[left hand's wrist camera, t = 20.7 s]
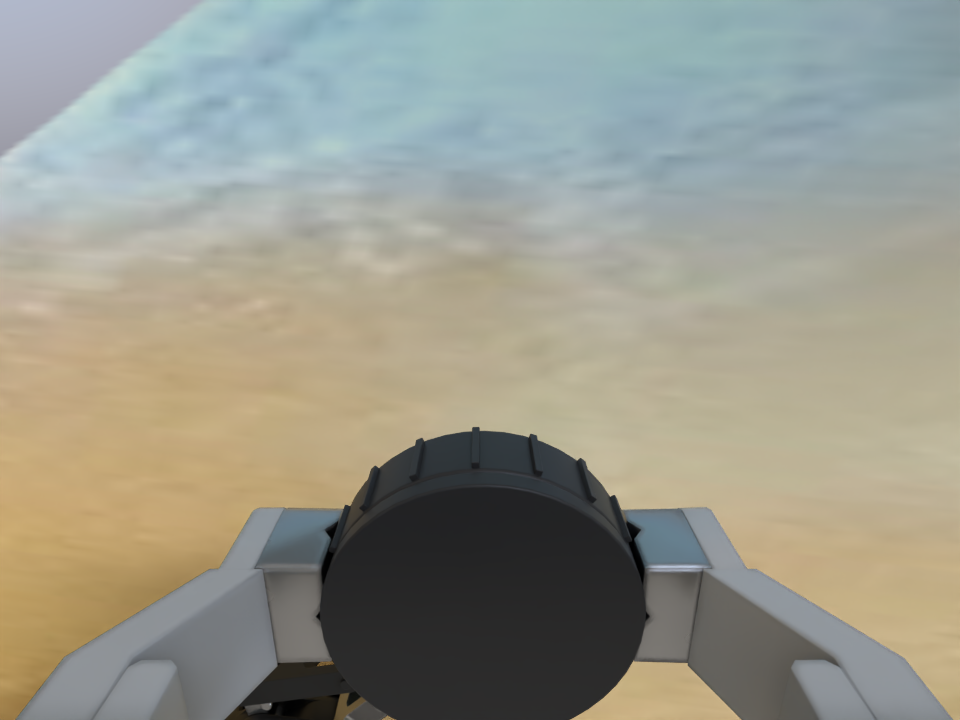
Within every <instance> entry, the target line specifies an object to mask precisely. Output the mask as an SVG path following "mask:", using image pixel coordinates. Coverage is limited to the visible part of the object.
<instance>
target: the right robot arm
mask: <svg viewBox="0 0 960 720" xmlns="http://www.w3.org/2000/svg"><path fill="white" fill-rule="evenodd" d="M318 663H319V662H291V663H277V665H278V666H277V667H276V668H275V669H274V670H273V671H272V672H271V673H270V674H269V675H268V676H267V677H266V678H265V679H264V680H263V681H262V682H261V683H260V684H259V685H258V686H257V687H256V688H255V689H254V690H253V691H252V692H251V693H250V694H249V695H248V696H247V697H246V698H245V699H244V700H243V702H242V703H241V704H240V705H239V706H238V707H237V708H236V709H235V710H234V711H233V712H232V713H231V714H230V715H229V716H228V717H227V718H226V719H225V720H382V719H383V718H384V717H386V716H387V715H386V714H385V713H383V712H381V711H380V710H378V709H377V708H375V707H374V706H372V705H371V704H370V703H368V702H367V701H366V700H365V699H363V698H362V697H361V696H360V695H359V694H358V693H357V692H356V691H355V690H354V689H353V688H352V687H351V686H350V685H349V684H348V683H347V682H346V680H345V679H344V678H343V676H342V675H341V674H340V672H339V671H338V670H337V668H336V666H335V664H333V665H325V666H318V667H317V665H318Z"/></svg>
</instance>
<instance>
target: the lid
mask: <svg viewBox="0 0 960 720" xmlns="http://www.w3.org/2000/svg"><path fill="white" fill-rule="evenodd" d="M631 541H632V539H631V536H630V533H629V531H628V528H627V525H626V522H625V520H624V517H623V514H622V511H621V509H620V506H619V503H618V500H617V498H616V496H615V495H613V496H611V497H610V496H609V495H608V493H607V492H606V490H605V489H604V487H603V486H602V484H601V483H600V482H599V481H598V480H597V479H596V478H595V477H594V475H593V474H592V473H591V472H590V471H589V470H588V469H587V466H586V462H585V461H584V460H583V459H582V458H580V459H579V460H578V461H577V460H575V459H574V458H572V457H570V456H569V455H567V454H565V453H564V452H562V451H561V450H559V449H557V448H554V447H552V446H550V445H548V444H546V443H544V442H541V441H538V440H537V436H536V435H533V434H530V436H529V438H528V437H525V436H521V435H516V434H511V433H505V432H493V431H480V429H479V427H473V428H472V432H461V433H455V434H449V435H444V436H441V437H437V438H434V439H430V440H427V441H424V440H423V438H420V439H418V440H416V444H415V446H413V447H411V448H408V449H407V450H405V451H403V452H402V453H400V454H398V455H397V456H395V457H393V458H392V459H390V460H389V461H388V462H387V463H385V464H384V465H383V466H381V467H380V468H378V467H377V466H374V467H373V468H372V469H371V471H370V474H369V478H368V480H367V481H366V482H365V484H364V485H363V486H362V488H361V489H360V490H359V492H358V493H357V495H356V496H355V498H354V500H353V502H352V504H351V506H348V505H345V507H344V509H343V512H342V515H341V518H340V520H339V523H338V526H337V529H336V532H335V535H334V537H333V540H332V543H331V546H330V549H329V552H331V553H334V554H333V557H332V560H331V563H330V566H329V569H328V572H327V575H326V578H325V581H324V584H323V587H322V593H321V600H320V623H321V628H322V633H323V638H324V642H325V644H326V647H327V650H328V652H329V655H330V657H331V659H332V661H333V662H334V664H335V666H336V668H337V670H338V671H339V672H340V674H341V675H342V676H343V678H344V679H345V680H346V682H347V683H348V684H349V685H350V686H351V687H352V688H353V689H354V690H355V691H356V692H357V693H358V694H359V695H360V696H361V697H362V698H363V699H365V700H366V701H367V702H368V703H370V704H371V705H372V706H374V707H375V708H377V709H378V710H380V711H381V712H383V713H385V714H386V715H388V716H390V717H392V718H394V719H396V720H570V719H572V718H574V717H576V716H577V715H579V714H581V713H582V712H584V711H586V710H588V709H589V708H590V707H592V706H593V705H594V704H596V703H597V702H598V701H600V700H601V699H602V698H604V697H605V696H606V695H607V694H608V693H609V692H610V691H611V690H612V689H613V688H614V687H615V686H616V685H617V684H618V682H619V681H620V680H621V678H622V677H623V676H624V675H625V673H626V672H627V670H628V669H629V667H630V665H631V664H632V662H633V660H634V659H635V656H636V654H637V651H638V649H639V646H640V644H641V641H642V636H643V632H644V627H645V619H646V602H645V594H644V588H643V585H642V582H641V578H640V575H639V572H638V569H637V566H636V563H635V561H634V558H633V552H631V549H630V546H629V543H628V542H631Z"/></svg>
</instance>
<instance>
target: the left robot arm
mask: <svg viewBox="0 0 960 720" xmlns="http://www.w3.org/2000/svg"><path fill="white" fill-rule="evenodd" d="M621 511H622V514H623V517H624V520H625V522H626V525H627V528H628V531H629V533H630V536H631V539H632V541H631V542H628V543H629V546H630V549H631V552H633V558H634V561H635V563H636V566H637V569H638V572H639V575H640V578H641V582H642V585H643V588H644V594H645V602H646V619H645V627H644V632H643V636H642V641H641V644H640V646H639V649H638V651H637V654H636V656H635V659H634V661H639V662H674V663H688V666H689V667H690V668H691V669H692V670H693V671H694V672H695V673H696V674H697V675H698V676H699V677H700V678H701V679H702V680H703V681H704V682H705V683H706V684H707V685H708V686H709V687H710V688H711V689H712V690H713V691H714V692H715V693H716V694H717V695H718V696H719V697H720V698H721V699H722V700H723V701H724V702H725V703H726V704H727V705H728V706H729V707H730V708H731V709H732V710H733V711H734V712H735V713H736V714H737V715H738V716H739V717H740V718H741V719H742V720H953V719H952V718H951V717H950V715H949V714H948V713H947V712H946V710H945V709H944V708H943V707H942V705H941V704H940V703H939V701H938V700H937V699H936V698H935V696H934V695H933V694H932V693H931V691H930V690H929V689H928V688H927V686H926V685H925V684H924V682H923V681H922V680H921V679H920V677H919V676H918V675H917V674H916V672H915V671H914V670H913V669H912V667H911V666H910V665H909V663H908V662H907V661H906V660H905V658H903V657H901V656H900V655H898V654H896V653H895V652H893V651H891V650H890V649H888V648H887V647H885V646H883V645H882V644H880V643H878V642H877V641H875V640H873V639H872V638H870V637H868V636H867V635H865V634H863V633H862V632H860V631H858V630H857V629H855V628H853V627H852V626H850V625H848V624H847V623H845V622H843V621H842V620H840V619H838V618H837V617H835V616H833V615H832V614H830V613H828V612H827V611H825V610H823V609H822V608H820V607H818V606H817V605H815V604H813V603H812V602H810V601H808V600H807V599H805V598H803V597H802V596H800V595H798V594H797V593H795V592H793V591H792V590H790V589H789V588H787V587H785V586H784V585H782V584H780V583H779V582H777V581H775V580H774V579H772V578H770V577H769V576H767V575H765V574H764V573H762V572H760V571H759V570H757V569H747V568H746V566H745V564H744V563H743V561H742V560H741V558H740V556H739V555H738V553H737V551H736V550H735V548H734V546H733V545H732V543H731V542H730V540H729V538H728V537H727V535H726V533H725V532H724V530H723V528H722V527H721V525H720V524H719V522H718V520H717V519H716V517H715V515H714V514H713V512H712V510H710V509H709V508H707V507H697V508H678V509H629V510H621ZM342 512H343V509H326V508H257V509H255V510H254V511H253V512H252V513H251V515H250V517H249V518H248V520H247V522H246V524H245V525H244V527H243V529H242V530H241V532H240V534H239V535H238V537H237V539H236V540H235V542H234V544H233V546H232V547H231V549H230V551H229V552H228V554H227V556H226V557H225V559H224V561H223V562H222V564H221V566H220V568H219V569H209V570H207V571H206V572H204V573H202V574H201V575H199V576H197V577H196V578H194V579H193V580H191V581H189V582H188V583H186V584H184V585H183V586H181V587H179V588H178V589H176V590H174V591H173V592H171V593H169V594H168V595H166V596H164V597H163V598H161V599H159V600H158V601H156V602H155V603H153V604H151V605H150V606H148V607H146V608H145V609H143V610H141V611H140V612H138V613H136V614H135V615H133V616H131V617H130V618H128V619H126V620H125V621H123V622H122V623H120V624H118V625H117V626H115V627H113V628H112V629H110V630H108V631H107V632H105V633H103V634H102V635H100V636H98V637H97V638H95V639H93V640H92V641H90V642H88V643H87V644H85V645H84V646H82V647H80V648H79V649H77V650H75V651H74V652H72V653H70V654H69V655H67V656H65V657H64V658H63V659H62V661H61V662H60V663H59V664H58V666H57V667H56V668H55V670H54V671H53V672H52V673H51V675H50V676H49V677H48V679H47V680H46V681H45V682H44V684H43V685H42V686H41V687H40V689H39V690H38V691H37V693H36V694H35V695H34V696H33V698H32V699H31V700H30V702H29V703H28V704H27V705H26V707H25V708H24V709H23V710H22V712H21V713H20V714H19V716H18V717H17V718H16V719H15V720H225V719H226V718H227V717H228V716H229V715H230V714H231V713H232V712H233V711H234V710H235V709H236V708H237V707H238V706H239V705H240V704H241V703H242V702H243V700H244V699H245V698H246V697H247V696H248V695H249V694H250V693H251V692H252V691H253V690H254V689H255V688H256V687H257V686H258V685H259V684H260V683H261V682H262V681H263V680H264V679H265V678H266V677H267V676H268V675H269V674H270V673H271V672H272V671H273V670H274V669H275V668H276V667H277V666H278V665H277V663H291V662H325V661H332V659H331V657H330V655H329V652H328V650H327V647H326V644H325V642H324V638H323V633H322V628H321V623H320V600H321V593H322V587H323V584H324V581H325V578H326V575H327V572H328V569H329V566H330V563H331V560H332V557H333V554H334V553H331V552H329V549H330V546H331V543H332V540H333V537H334V535H335V532H336V529H337V526H338V523H339V520H340V518H341V515H342Z"/></svg>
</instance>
